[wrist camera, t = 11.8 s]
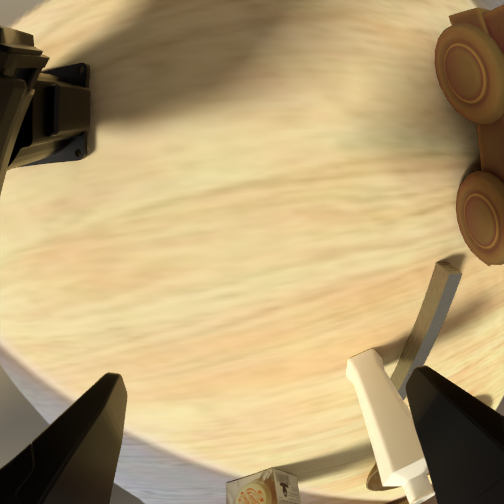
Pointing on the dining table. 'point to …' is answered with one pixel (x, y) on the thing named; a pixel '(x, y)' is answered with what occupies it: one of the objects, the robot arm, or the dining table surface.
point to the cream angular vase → (389, 427)
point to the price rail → (427, 323)
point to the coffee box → (264, 489)
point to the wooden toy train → (478, 121)
